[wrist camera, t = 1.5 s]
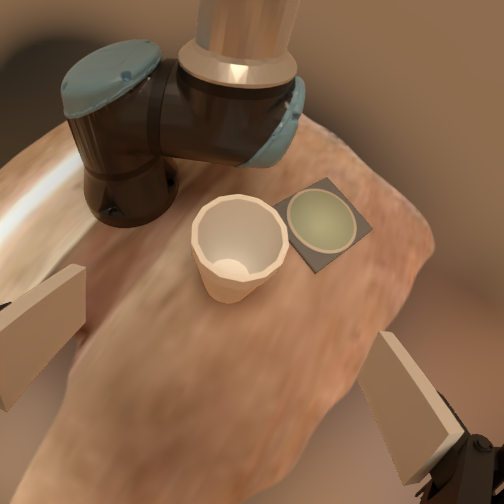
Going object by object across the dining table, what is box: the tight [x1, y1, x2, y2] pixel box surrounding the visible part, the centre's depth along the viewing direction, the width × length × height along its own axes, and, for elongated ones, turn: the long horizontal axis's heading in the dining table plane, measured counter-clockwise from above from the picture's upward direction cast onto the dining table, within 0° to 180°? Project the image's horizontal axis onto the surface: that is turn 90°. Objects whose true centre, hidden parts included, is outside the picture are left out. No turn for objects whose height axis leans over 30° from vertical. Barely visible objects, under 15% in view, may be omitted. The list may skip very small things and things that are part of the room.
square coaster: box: [272, 177, 373, 274], centre depth 47 cm, size 12×14×1 cm
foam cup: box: [191, 194, 289, 304], centre depth 35 cm, size 10×9×13 cm
